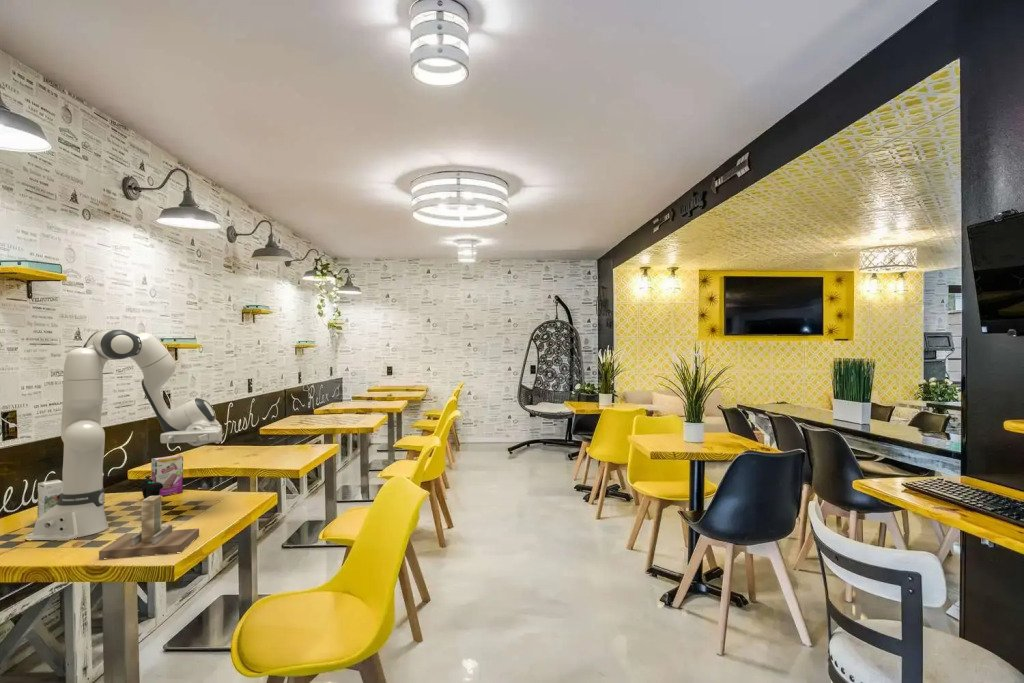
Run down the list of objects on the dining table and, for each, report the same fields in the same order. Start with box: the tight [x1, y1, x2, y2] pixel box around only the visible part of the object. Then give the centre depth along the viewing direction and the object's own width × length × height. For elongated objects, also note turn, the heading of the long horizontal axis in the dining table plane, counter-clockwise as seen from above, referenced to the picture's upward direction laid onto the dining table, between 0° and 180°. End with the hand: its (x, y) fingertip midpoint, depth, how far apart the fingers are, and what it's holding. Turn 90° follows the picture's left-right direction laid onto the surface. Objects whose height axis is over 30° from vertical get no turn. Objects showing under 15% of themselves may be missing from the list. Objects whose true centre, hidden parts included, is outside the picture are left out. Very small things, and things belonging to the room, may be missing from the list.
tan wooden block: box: [140, 495, 162, 543], centre depth 172 cm, size 3×6×13 cm, turn 11°
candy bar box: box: [150, 454, 184, 497], centre depth 238 cm, size 11×5×16 cm, turn 144°
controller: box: [140, 475, 163, 500], centre depth 227 cm, size 4×12×10 cm, turn 57°
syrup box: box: [37, 479, 63, 519], centre depth 203 cm, size 6×6×14 cm
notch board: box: [98, 524, 200, 560], centre depth 172 cm, size 22×16×5 cm
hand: (184, 439), depth 198 cm, fingers open, 8 cm apart
